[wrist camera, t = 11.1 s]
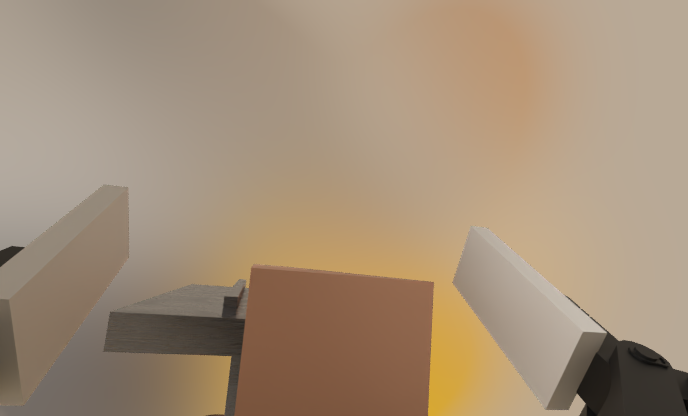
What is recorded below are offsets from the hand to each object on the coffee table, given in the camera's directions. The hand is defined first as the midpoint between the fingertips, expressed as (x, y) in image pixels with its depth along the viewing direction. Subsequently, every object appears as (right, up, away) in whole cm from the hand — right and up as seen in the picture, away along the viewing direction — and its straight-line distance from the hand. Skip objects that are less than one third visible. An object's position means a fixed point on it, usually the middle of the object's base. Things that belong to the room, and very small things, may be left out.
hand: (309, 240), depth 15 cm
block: (-3, -6, +12) cm, 14 cm away
